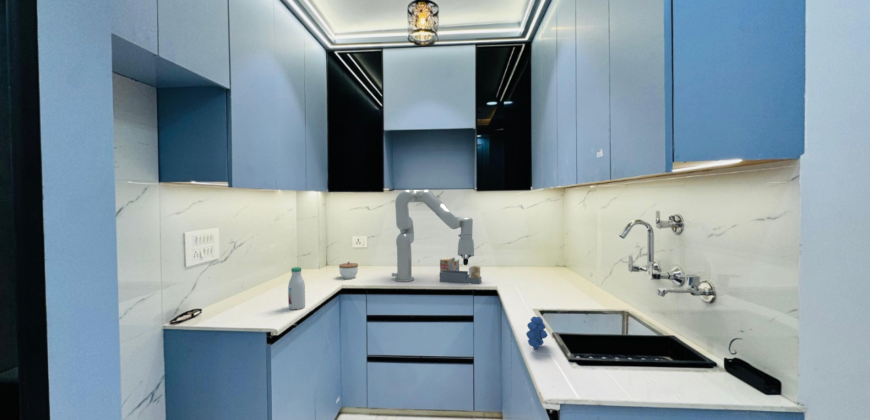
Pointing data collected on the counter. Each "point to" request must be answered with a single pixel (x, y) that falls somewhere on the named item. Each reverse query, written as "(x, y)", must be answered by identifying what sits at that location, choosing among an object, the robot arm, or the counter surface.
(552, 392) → the counter surface
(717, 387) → the counter surface
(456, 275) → the tube
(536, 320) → the grapes
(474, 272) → the pine block
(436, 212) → the robot arm
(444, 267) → the printed cardboard box
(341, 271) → the lidded bowl
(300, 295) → the milk bottle
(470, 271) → the plunger
